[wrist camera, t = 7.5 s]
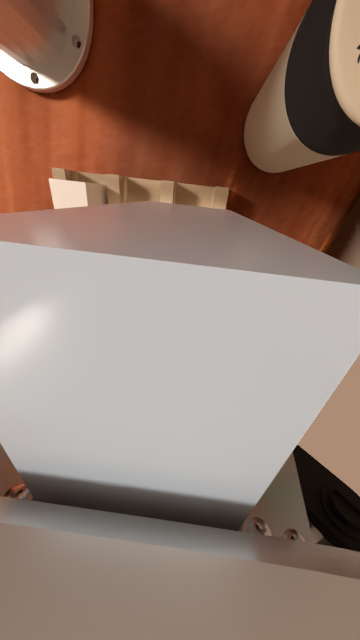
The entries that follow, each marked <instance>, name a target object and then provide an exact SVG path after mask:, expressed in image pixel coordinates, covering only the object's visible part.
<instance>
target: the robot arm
mask: <svg viewBox="0 0 360 640" xmlns="http://www.w3.org/2000/svg"><path fill="white" fill-rule="evenodd" d="M93 24H94V22H93V0H0V71H1V72H2V73H3V74H5V75H6V76H7V77H8V78H10V79H11V80H13V81H14V82H16V83H17V84H19V85H21V86H22V87H25V88H27V89H29V90H32V91H34V92H40V93H53V92H57V91H60V90H62V89H64V88H66V87H67V86H68V85H70V84H71V83H72V82H73V81H74V80H75V79H76V78H77V76H78V75H79V73H80V72H81V71H82V68H83V66H84V64H85V62H86V60H87V57H88V53H89V50H90V46H91V42H92V33H93ZM80 44H81V47H80V48H79V45H80ZM38 81H39V83H38ZM0 640H360V497H359V496H358V495H357V494H356V493H355V492H354V491H353V490H352V489H351V488H349V487H348V486H347V485H346V484H345V483H343V482H342V481H341V480H340V479H339V478H337V477H336V476H335V475H334V474H332V473H331V472H330V471H329V470H328V469H326V468H325V467H324V466H323V465H321V464H320V463H319V462H318V461H317V460H315V459H314V458H313V457H312V456H311V455H309V454H308V453H307V452H306V451H304V450H303V449H302V448H301V447H300V446H298V445H297V446H296V447H295V449H294V450H293V451H292V453H291V454H290V456H289V457H288V459H287V460H286V462H285V463H284V465H283V466H282V467H281V469H280V470H279V472H278V473H277V475H276V476H275V478H274V479H273V481H272V482H271V483H270V485H269V486H268V488H267V489H266V491H265V492H264V494H263V495H262V497H261V498H260V499H259V501H258V502H257V504H256V505H255V507H254V508H253V510H252V511H251V513H250V514H249V515H248V517H247V518H246V520H245V521H244V523H243V524H242V526H241V527H240V529H239V530H238V531H233V530H227V529H220V528H214V527H207V526H201V525H194V524H188V523H181V522H174V521H167V520H161V519H154V518H147V517H140V516H134V515H127V514H120V513H113V512H106V511H100V510H93V509H86V508H79V507H72V506H65V505H58V504H51V503H44V502H37V501H35V500H34V498H33V496H32V495H31V493H30V491H29V490H28V488H27V486H26V485H25V483H24V481H23V480H22V478H21V476H20V475H19V473H18V471H17V470H16V468H15V466H14V465H13V463H12V461H11V460H10V458H9V456H8V455H7V453H6V452H5V450H4V448H3V447H2V445H1V443H0Z"/></svg>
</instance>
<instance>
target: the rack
mask: <svg viewBox="0 0 360 640" xmlns="http://www.w3.org/2000/svg"><path fill="white" fill-rule="evenodd" d="M52 173H53V179H60V180H70V181H79V182H88V183H97V184H106V185H107V195H108V204H119V203H130V202H142V201H155V202H164V203H173V204H181V205H190V206H199V207H207V208H216V209H225V210H226V204H227V199H228V193H229V188H227V187H218V186H216V187H209V186H200V185H191V184H183V183H176V182H174V181H165V180H161V181H156V180H147V179H139V178H130V177H124V176H120V175H112V174H106V175H103V174H94V173H86V172H77V171H72V170H67V169H59V168H52Z"/></svg>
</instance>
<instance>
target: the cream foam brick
mask: <svg viewBox="0 0 360 640" xmlns="http://www.w3.org/2000/svg"><path fill="white" fill-rule="evenodd" d="M49 183H50V188H51V193H52V199H53V204H54V209H61V208H73V207H84V206H96V205H107V204H108V195H107V185H106V184H97V183H88V182H79V181H70V180H60V179H51V178H49Z"/></svg>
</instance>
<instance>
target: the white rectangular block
mask: <svg viewBox="0 0 360 640" xmlns="http://www.w3.org/2000/svg"><path fill="white" fill-rule="evenodd" d="M359 354H360V270H359V269H357V268H354V267H352V266H350V265H348V264H346V263H344V262H342V261H339V260H337V259H335V258H333V257H331V256H329V255H326V254H324V253H322V252H320V251H318V250H316V249H313V248H311V247H309V246H307V245H305V244H303V243H300V242H298V241H296V240H294V239H292V238H289V237H287V236H285V235H283V234H281V233H279V232H276V231H274V230H272V229H270V228H268V227H266V226H263V225H261V224H259V223H257V222H255V221H253V220H250V219H248V218H246V217H244V216H242V215H240V214H237V213H235V212H233V211H231V210H225V209H216V208H207V207H199V206H190V205H181V204H173V203H164V202H155V201H142V202H130V203H119V204H107V205H96V206H84V207H73V208H61V209H50V210H38V211H27V212H15V213H4V214H0V443H1V445H2V447H3V448H4V450H5V452H6V453H7V455H8V456H9V458H10V460H11V461H12V463H13V465H14V466H15V468H16V470H17V471H18V473H19V475H20V476H21V478H22V480H23V481H24V483H25V485H26V486H27V488H28V490H29V491H30V493H31V495H32V496H33V498H34V500H35V501H37V502H44V503H51V504H58V505H65V506H72V507H79V508H86V509H93V510H100V511H106V512H113V513H120V514H127V515H134V516H140V517H147V518H154V519H161V520H167V521H174V522H181V523H188V524H194V525H201V526H207V527H214V528H220V529H227V530H233V531H238V530H239V529H240V527H241V526H242V524H243V523H244V521H245V520H246V518H247V517H248V515H249V514H250V513H251V511H252V510H253V508H254V507H255V505H256V504H257V502H258V501H259V499H260V498H261V497H262V495H263V494H264V492H265V491H266V489H267V488H268V486H269V485H270V483H271V482H272V481H273V479H274V478H275V476H276V475H277V473H278V472H279V470H280V469H281V467H282V466H283V465H284V463H285V462H286V460H287V459H288V457H289V456H290V454H291V453H292V451H293V450H294V449H295V447H296V446H297V444H298V443H299V441H300V440H301V438H302V437H303V435H304V434H305V433H306V431H307V430H308V428H309V427H310V425H311V424H312V422H313V421H314V419H315V418H316V416H317V415H318V414H319V412H320V411H321V409H322V408H323V406H324V405H325V403H326V402H327V400H328V399H329V398H330V396H331V395H332V393H333V392H334V390H335V389H336V387H337V386H338V385H339V383H340V381H341V380H342V379H343V377H344V376H345V374H346V373H347V371H348V370H349V369H350V367H351V366H352V364H353V363H354V361H355V360H356V358H357V357H358V355H359Z"/></svg>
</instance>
